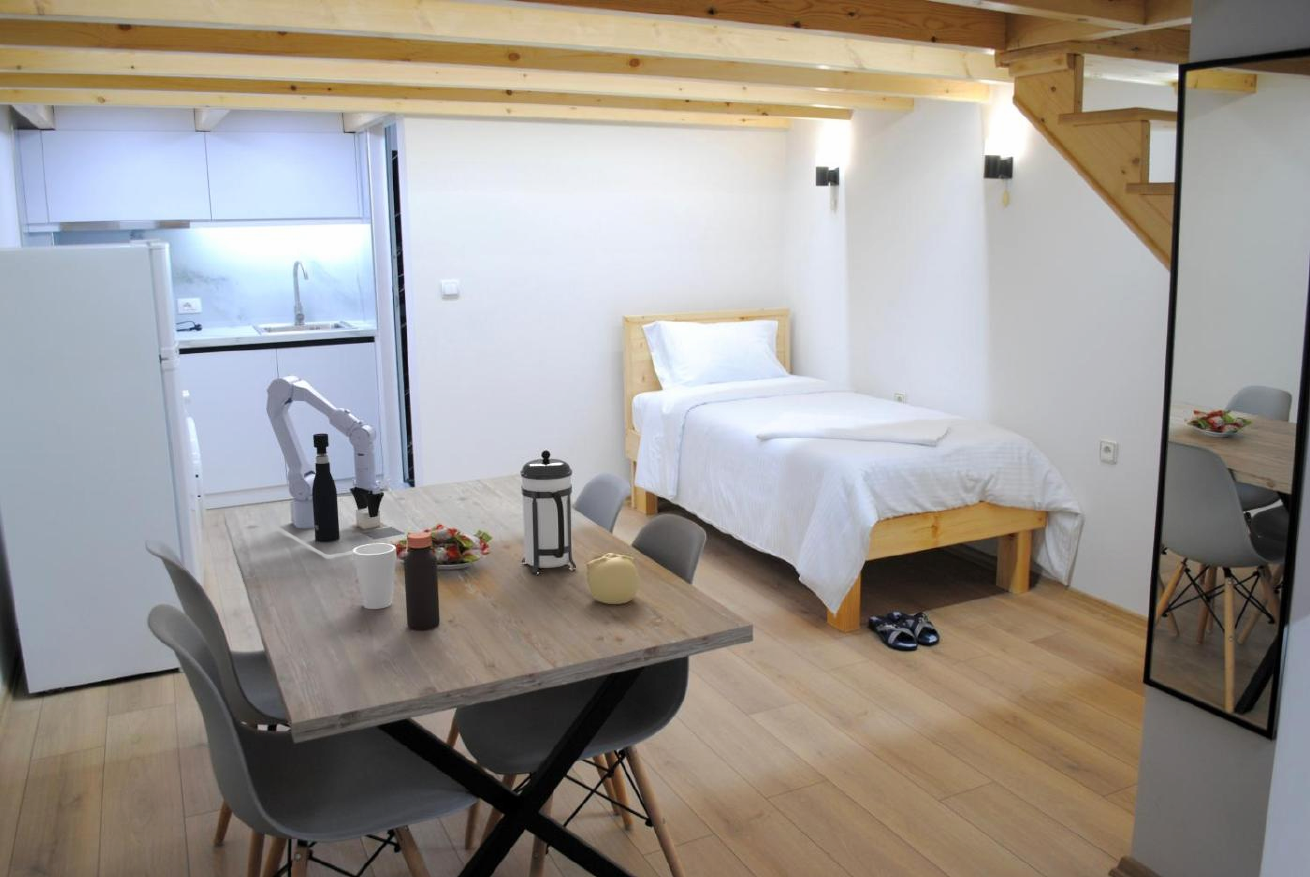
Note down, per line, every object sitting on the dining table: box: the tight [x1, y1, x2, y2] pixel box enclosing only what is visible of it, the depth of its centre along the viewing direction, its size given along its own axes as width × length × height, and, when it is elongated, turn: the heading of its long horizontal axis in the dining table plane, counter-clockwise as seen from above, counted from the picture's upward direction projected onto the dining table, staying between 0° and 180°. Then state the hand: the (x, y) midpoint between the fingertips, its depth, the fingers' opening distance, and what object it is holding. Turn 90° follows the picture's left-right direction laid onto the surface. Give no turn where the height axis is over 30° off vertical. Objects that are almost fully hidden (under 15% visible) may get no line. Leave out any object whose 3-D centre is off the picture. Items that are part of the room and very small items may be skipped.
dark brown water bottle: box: [403, 531, 441, 631], centre depth 225 cm, size 7×7×20 cm
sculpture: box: [586, 552, 640, 605], centre depth 241 cm, size 12×12×11 cm
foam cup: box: [352, 542, 397, 610], centre depth 239 cm, size 10×9×13 cm
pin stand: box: [349, 522, 387, 532], centre depth 303 cm, size 8×8×4 cm
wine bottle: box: [312, 433, 341, 543], centre depth 287 cm, size 6×6×30 cm
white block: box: [355, 507, 381, 529], centre depth 302 cm, size 5×5×4 cm
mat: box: [360, 526, 406, 540], centre depth 295 cm, size 9×9×1 cm
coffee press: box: [519, 450, 577, 575], centre depth 262 cm, size 17×16×30 cm
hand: (368, 514), depth 302 cm, fingers open, 7 cm apart
